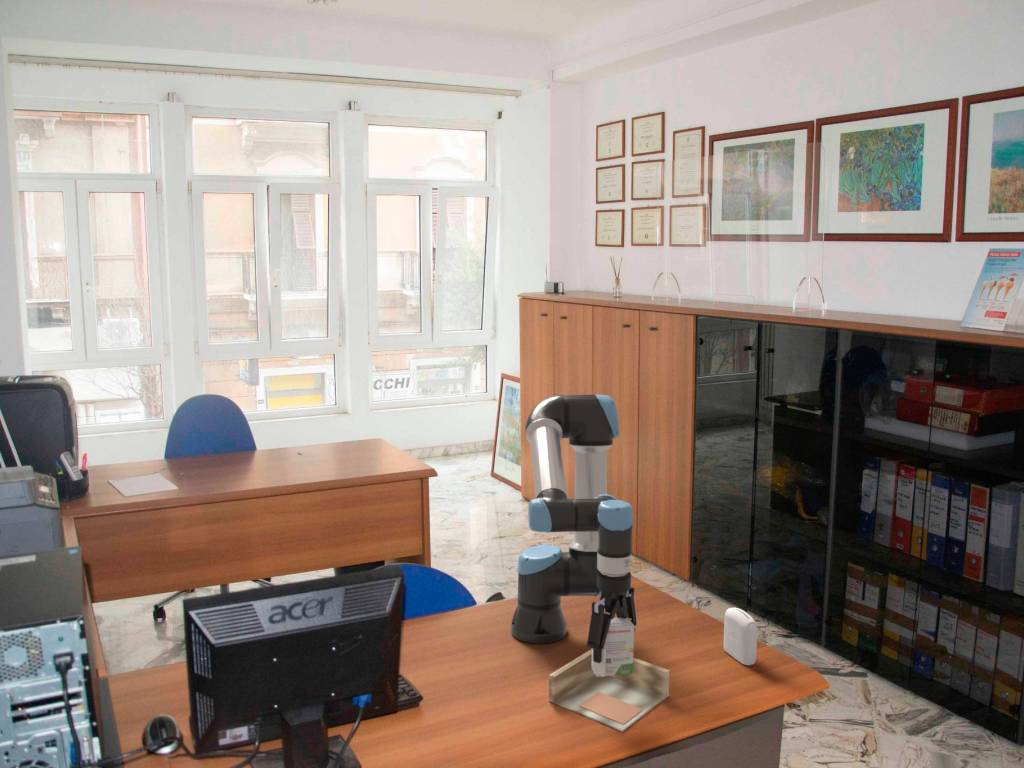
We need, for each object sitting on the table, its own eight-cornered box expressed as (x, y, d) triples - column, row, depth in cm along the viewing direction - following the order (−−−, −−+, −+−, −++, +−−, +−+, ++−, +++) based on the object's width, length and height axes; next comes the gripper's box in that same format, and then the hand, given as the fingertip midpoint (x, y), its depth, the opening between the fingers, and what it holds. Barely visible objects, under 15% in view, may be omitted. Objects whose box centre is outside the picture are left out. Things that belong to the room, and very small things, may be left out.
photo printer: (720, 649, 228) (722, 604, 226) (734, 646, 229) (736, 602, 227) (743, 667, 218) (746, 620, 216) (758, 664, 220) (760, 618, 218)
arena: (548, 700, 202) (549, 675, 200) (597, 669, 217) (598, 644, 216) (622, 732, 189) (623, 704, 188) (668, 695, 204) (669, 670, 203)
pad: (578, 706, 199) (578, 705, 199) (598, 692, 205) (598, 691, 205) (623, 724, 191) (623, 723, 191) (642, 710, 197) (642, 709, 197)
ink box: (626, 664, 199) (628, 615, 197) (633, 674, 194) (635, 624, 193) (590, 667, 198) (591, 617, 196) (596, 677, 193) (597, 627, 191)
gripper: (600, 590, 182) (598, 690, 185) (654, 561, 199) (651, 654, 202) (571, 581, 187) (569, 679, 190) (626, 554, 203) (623, 644, 207)
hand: (611, 666), depth 196 cm, fingers closed on ink box, 9 cm apart
